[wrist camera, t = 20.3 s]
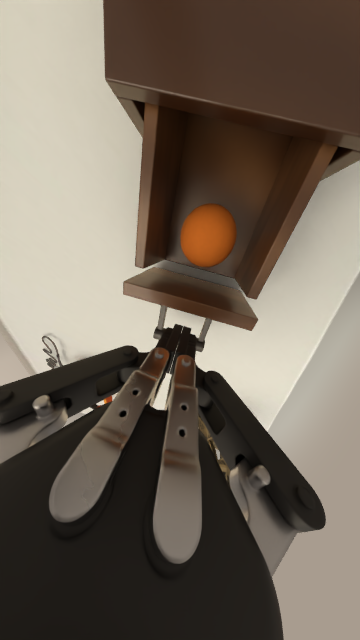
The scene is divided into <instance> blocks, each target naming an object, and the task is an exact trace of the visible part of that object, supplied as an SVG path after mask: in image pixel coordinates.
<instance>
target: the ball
mask: <svg viewBox="0 0 360 640" xmlns="http://www.w3.org/2000/svg"><path fill="white" fill-rule="evenodd" d="M236 235H237V229H236V223H235V220H234V218H233V216H232V215H231V213H230V212H229V211H228V210H227V209H226V208H225V207H223V206H221V205H218V204H214V203H209V204H204V205H201V206H199V207H197V208H196V209H194V210H193V211H192V212H191V213H190V214H189V215H188V216H187V218H186V219H185V221H184V223H183V226H182V229H181V234H180V242H181V248H182V251H183V253H184V255H185V256H186V258H187V259H188V260H189V261H190V262H191V263H193V264H195V265H197V266H200V267H212V266H215V265H217V264H219V263H221V262H222V261H224V260H225V259H226V258H227V257H228V256H229V254H230V253H231V251H232V249H233V247H234V245H235V241H236Z"/></svg>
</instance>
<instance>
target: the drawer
mask: <svg viewBox="0 0 360 640" xmlns="http://www.w3.org/2000/svg"><path fill="white" fill-rule="evenodd" d="M337 148H338V146H335V145H331V144H326V143H322V142H318V141H313V140H309V139H304V138H300V137H296V136H291V135H287V134H282V133H278V132H274V131H269V130H265V129H260V128H256V127H252V126H247V125H243V124H238V123H234V122H229V121H225V120H221V119H216V118H212V117H207V116H203V115H199V114H194V113H190V112H185V111H181V110H177V109H172V108H168V107H163V106H159V105H155V104H150V103H146V102H145V111H144V127H143V144H142V160H141V176H140V193H139V209H138V225H137V241H136V258H135V266H136V267H140V268H146V267H148V266H151V265H153V264H155V263H158V262H160V261H162V260H169V261H172V262H176V263H180V264H183V265H187V266H191V267H194V268H198V269H202V270H205V271H209V272H213V273H216V274H220V275H224V276H227V277H231V278H235V280H236V281H237V283H238V284H239V286H240V287H241V289H242V290H243V292H244V293H245V295H246V296H247V297H249V298H252V299H257V297H258V295H259V294H260V292H261V290H262V288H263V286H264V284H265V282H266V281H267V279H268V277H269V275H270V273H271V271H272V269H273V267H274V266H275V264H276V262H277V260H278V258H279V256H280V254H281V252H282V251H283V249H284V247H285V245H286V243H287V241H288V239H289V238H290V236H291V234H292V232H293V230H294V228H295V226H296V224H297V223H298V221H299V219H300V217H301V215H302V213H303V211H304V210H305V208H306V206H307V204H308V202H309V200H310V198H311V196H312V195H313V193H314V191H315V189H316V187H317V185H318V183H319V182H320V180H321V178H322V176H323V174H324V172H325V170H326V168H327V167H328V165H329V163H330V161H331V159H332V157H333V155H334V153H335V152H336V150H337ZM209 203H214V204H218V205H221V206H223V207H225V208H226V209H227V210H228V211H229V212H230V213H231V215H232V216H233V218H234V220H235V223H236V229H237V235H236V241H235V245H234V247H233V249H232V251H231V253H230V254H229V256H228V257H227V258H226V259H225V260H224V261H222V262H221V263H219V264H217V265H215V266H212V267H200V266H197V265H195V264H193V263H191V262H190V261H189V260H188V259H187V258H186V256H185V255H184V253H183V251H182V248H181V242H180V234H181V229H182V226H183V223H184V221H185V219H186V218H187V216H188V215H189V214H190V213H191V212H192V211H193V210H194V209H196V208H197V207H199V206H201V205H204V204H209ZM123 294H124V295H128V296H131V297H135V298H138V299H142V300H145V301H149V302H152V303H156V304H159V305H161V310H160V316H159V322H158V326H157V327H156V329H155V332H154V336H153V338H155V339H158V340H160V338H161V336H162V334H163V332H164V330H165V328H163V326H164V321H165V316H166V311H167V307H170V308H173V309H177V310H180V311H184V312H187V313H191V314H194V315H198V316H201V317H205V318H206V319H205V322H204V325H203V328H202V330H201V333H200V336H199V338H197V345H196V351H199V352H202V351H203V348H204V344H205V340H204V339H205V336H206V334H207V331H208V329H209V326H210V324H211V321H212V320H215V321H219V322H222V323H226V324H229V325H233V326H236V327H240V328H243V329H247V330H250V331H252V329H253V328H254V326H255V324H256V323H257V321H258V318H257V317H256V315H255V314H254V312H253V310H252V309H251V307H250V306H249V304H248V302H247V301H246V299H245V297H244V296H243V294H242V293H241V291H240V290H237V289H233V288H229V287H226V286H222V285H218V284H215V283H211V282H207V281H204V280H200V279H197V278H193V277H189V276H186V275H182V274H178V273H175V272H171V271H167V270H164V269H160V268H157V267H153V268H151V269H149V270H147V271H145V272H142V273H140V274H138V275H136V276H134V277H132V278H130V279H128V280H126V281H124V283H123ZM180 336H181V335H180ZM179 340H180V338H179ZM178 343H179V342H178Z"/></svg>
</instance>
